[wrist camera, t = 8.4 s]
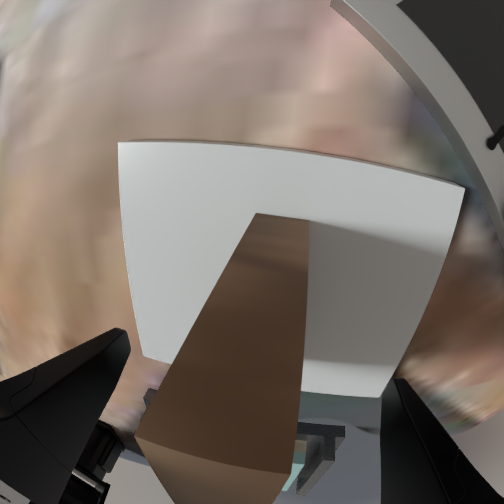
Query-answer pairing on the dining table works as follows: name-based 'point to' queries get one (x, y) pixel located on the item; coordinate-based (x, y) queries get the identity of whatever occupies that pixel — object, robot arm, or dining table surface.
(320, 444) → the rack
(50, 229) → the dining table surface
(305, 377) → the board
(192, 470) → the brown flat block
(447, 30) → the picture frame
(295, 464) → the offcut upper
